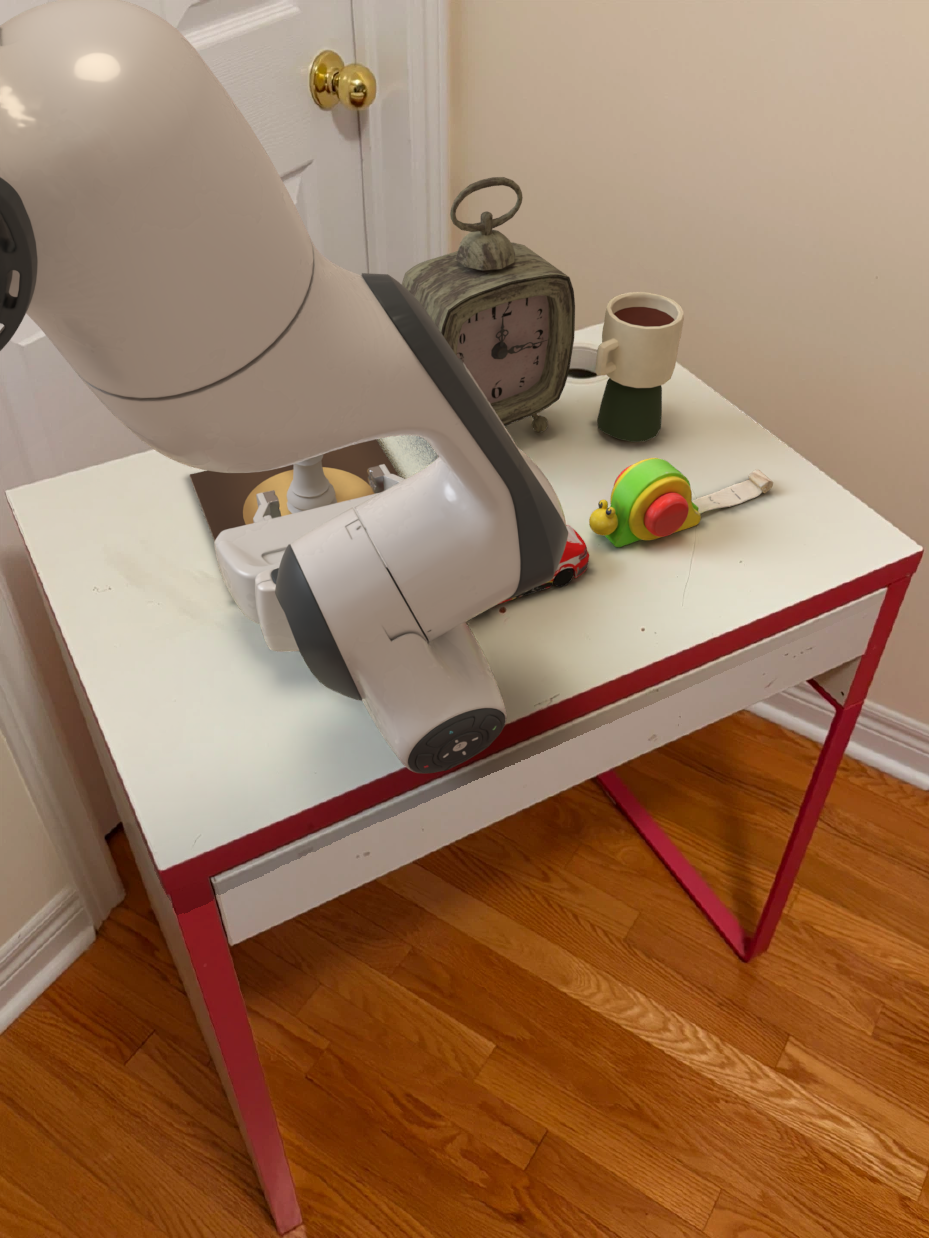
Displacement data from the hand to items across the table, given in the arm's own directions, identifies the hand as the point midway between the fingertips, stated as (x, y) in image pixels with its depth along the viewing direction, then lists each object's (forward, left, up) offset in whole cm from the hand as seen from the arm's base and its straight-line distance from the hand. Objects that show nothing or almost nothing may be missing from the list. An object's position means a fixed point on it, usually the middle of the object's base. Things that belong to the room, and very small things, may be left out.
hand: (321, 485), depth 86 cm
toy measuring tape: (+31, -8, -7) cm, 32 cm away
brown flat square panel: (0, +5, -7) cm, 8 cm away
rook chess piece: (0, +5, -6) cm, 8 cm away
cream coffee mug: (+33, +6, -7) cm, 34 cm away
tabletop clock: (+19, +11, -7) cm, 23 cm away
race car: (+13, -10, -7) cm, 18 cm away
